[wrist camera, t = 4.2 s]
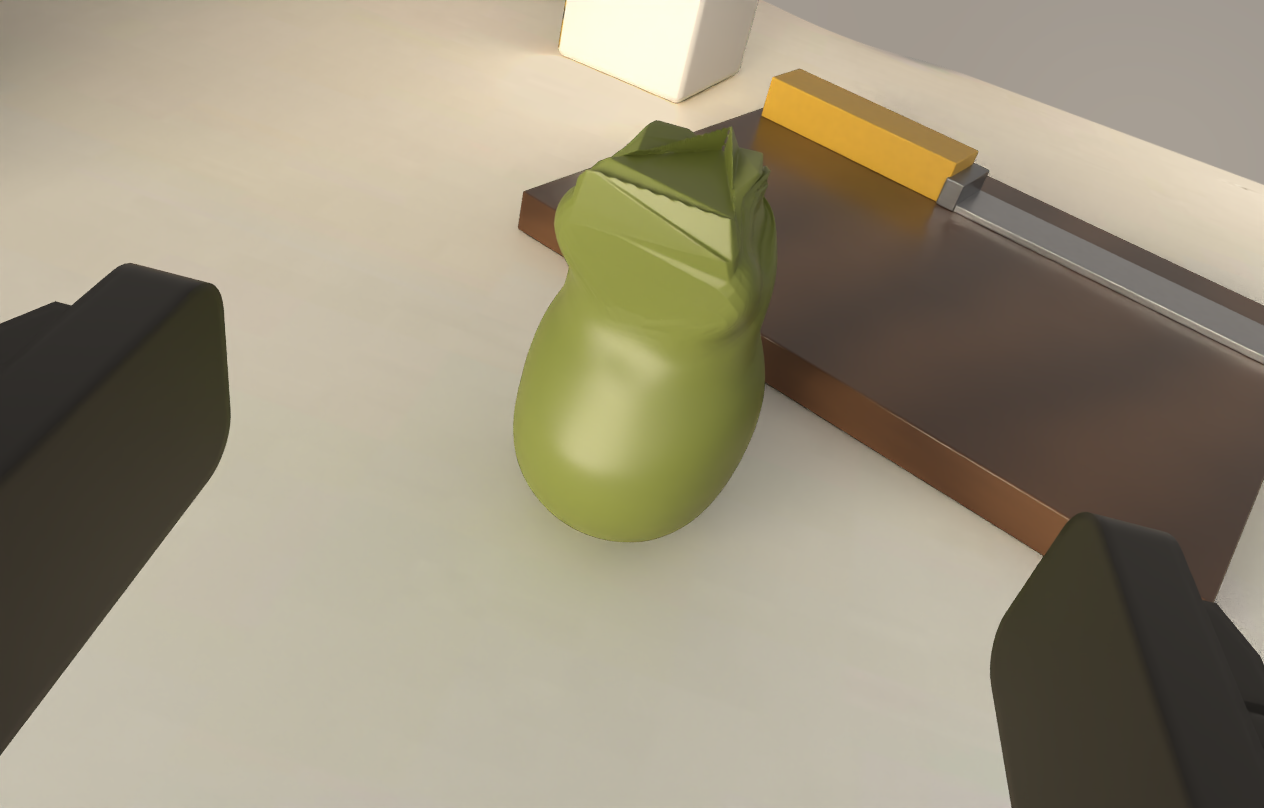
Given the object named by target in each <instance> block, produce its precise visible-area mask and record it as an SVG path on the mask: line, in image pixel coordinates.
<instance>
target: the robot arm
mask: <svg viewBox="0 0 1264 808" xmlns="http://www.w3.org/2000/svg"><path fill="white" fill-rule="evenodd" d="M230 418H231V413H230V396H229V381H228V366H227V351H226V336H225V322H224V308H223V301H222V297H221V294H220V292H219V290H218V289H217V288H216V286H214V285H213V284H211V283H207V282H203V281H199V280H195V279H192V278H188V277H184V276H180V275H176V274H172V273H168V272H164V271H160V270H157V269H153V268H149V267H145V266H141V265H137V264H133V263H127V264H123V265H121V266H119V267H117V268H116V269H114V270H113V271H112V272H111V273H109V274H108V275H107V276H106V277H105V278H103V279H102V280H101V281H100V282H99V283H97V284H96V285H95V286H94V287H93V288H92V289H90V290H89V291H88V292H87V293H86V294H84V295H83V296H82V297H81V298H80V299H79V300H77V301H76V302H75V303H74V304H73V305H67V304H63V303H59V302H56V301H55V302H53V303H50V304H48V305H45V306H43V307H40V308H38V309H35V310H33V311H30V312H28V313H26V314H23V315H21V316H18V317H16V318H13V319H11V320H8V321H6V322H3V323H1V324H0V755H1V754H2V752H3V751H4V750H5V749H6V747H7V746H8V745H9V743H10V742H11V741H12V739H13V738H14V737H15V735H16V734H17V733H18V731H19V730H20V729H21V727H22V726H23V725H24V723H25V722H26V721H27V719H28V718H29V717H30V716H31V714H32V713H33V712H34V710H35V709H36V708H37V706H38V705H39V704H40V702H41V701H42V700H43V698H44V697H45V696H46V694H47V693H48V692H49V690H50V689H51V688H52V686H53V685H54V684H55V683H56V681H57V680H58V679H59V677H60V676H61V675H62V673H63V672H64V671H65V669H66V668H67V667H68V665H69V664H70V663H71V661H72V660H73V659H74V657H75V656H76V655H77V653H78V652H79V651H80V650H81V648H82V647H83V646H84V644H85V643H86V642H87V640H88V639H89V638H90V636H91V635H92V634H93V632H94V631H95V630H96V628H97V627H98V626H99V624H100V623H101V622H102V620H103V619H104V618H105V617H106V615H107V614H108V613H109V611H110V610H111V609H112V607H113V606H114V605H115V603H116V602H117V601H118V599H119V598H120V597H121V595H122V594H123V593H124V591H125V590H126V589H127V587H128V586H129V585H130V584H131V582H132V581H133V580H134V578H135V577H136V576H137V574H138V573H139V572H140V570H141V569H142V568H143V566H144V565H145V564H146V562H147V561H148V560H149V558H150V557H151V556H152V554H153V553H154V552H155V551H156V549H157V548H158V547H159V545H160V544H161V543H162V541H163V540H164V539H165V537H166V536H167V535H168V533H169V532H170V531H171V529H172V528H173V527H174V525H175V524H176V523H177V521H178V520H179V519H180V518H181V516H182V515H183V514H184V512H185V511H186V510H187V508H188V507H189V506H190V504H191V503H192V502H193V500H194V499H195V498H196V496H197V495H198V494H199V492H200V491H201V490H202V488H203V487H204V486H205V485H206V483H207V482H208V481H209V479H210V478H211V476H212V475H213V473H214V471H215V470H216V468H217V466H218V464H219V462H220V459H221V457H222V454H223V452H224V449H225V446H226V442H227V438H228V434H229V428H230ZM990 679H991V687H992V693H993V699H994V705H995V711H996V717H997V723H998V729H999V735H1000V741H1001V747H1002V753H1003V759H1004V765H1005V771H1006V777H1007V783H1008V789H1009V795H1010V801H1011V807H1012V808H1264V664H1263V662H1262V659H1261V657H1260V655H1259V654H1258V653H1257V652H1256V651H1255V649H1254V648H1253V647H1252V646H1251V645H1250V643H1249V642H1248V641H1247V640H1246V639H1245V637H1244V636H1243V635H1242V634H1241V632H1240V631H1239V630H1238V629H1237V628H1236V626H1235V625H1234V624H1233V623H1232V622H1231V620H1230V619H1229V618H1228V617H1227V616H1226V614H1225V613H1224V612H1223V611H1222V610H1221V608H1220V607H1219V606H1218V605H1217V604H1216V603H1213V602H1209V601H1205V600H1202V598H1201V596H1200V593H1199V591H1198V588H1197V586H1196V583H1195V581H1194V578H1193V576H1192V574H1191V571H1190V569H1189V566H1188V564H1187V561H1186V559H1185V556H1184V554H1183V552H1182V549H1181V547H1180V545H1179V543H1178V541H1177V540H1176V539H1175V538H1174V537H1173V536H1172V535H1171V534H1169V533H1167V532H1164V531H1160V530H1156V529H1152V528H1148V527H1144V526H1141V525H1137V524H1133V523H1129V522H1125V521H1121V520H1117V519H1113V518H1109V517H1106V516H1102V515H1098V514H1094V513H1090V512H1081V513H1078V514H1076V515H1075V516H1073V517H1072V518H1071V519H1070V520H1069V521H1068V522H1067V523H1066V524H1065V526H1064V527H1063V528H1062V530H1061V531H1060V533H1059V534H1058V536H1057V537H1056V539H1055V540H1054V542H1053V543H1052V545H1051V546H1050V548H1049V549H1048V551H1047V552H1046V554H1045V555H1044V556H1043V558H1042V559H1041V561H1040V562H1039V564H1038V565H1037V567H1036V568H1035V570H1034V571H1033V573H1032V574H1031V576H1030V577H1029V579H1028V580H1027V582H1026V583H1025V585H1024V586H1023V588H1022V589H1021V591H1020V592H1019V594H1018V595H1017V597H1016V598H1015V600H1014V601H1013V603H1012V604H1011V606H1010V607H1009V609H1008V610H1007V612H1006V613H1005V615H1004V617H1003V618H1002V620H1001V622H1000V625H999V627H998V630H997V632H996V635H995V639H994V643H993V648H992V653H991V662H990Z"/></svg>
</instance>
